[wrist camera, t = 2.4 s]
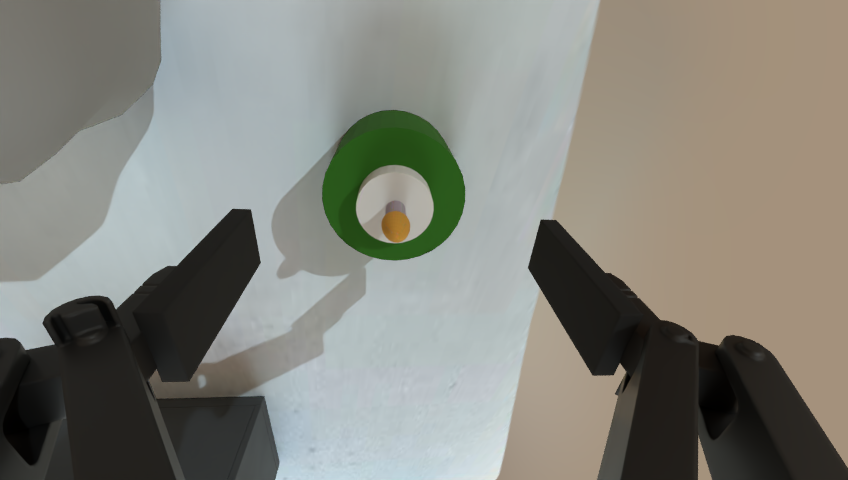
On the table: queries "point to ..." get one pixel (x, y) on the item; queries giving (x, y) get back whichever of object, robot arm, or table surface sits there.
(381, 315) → the table surface
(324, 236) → the table surface
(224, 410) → the dark grey open box
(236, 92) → the table surface
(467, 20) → the table surface
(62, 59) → the bottle
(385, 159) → the candle
